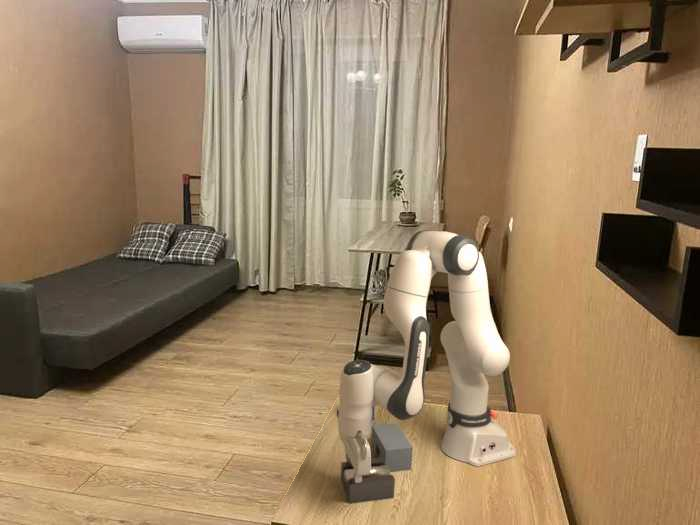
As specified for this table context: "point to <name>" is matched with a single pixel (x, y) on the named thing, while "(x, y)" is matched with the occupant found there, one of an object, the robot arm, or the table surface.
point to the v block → (368, 485)
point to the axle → (374, 472)
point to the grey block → (392, 446)
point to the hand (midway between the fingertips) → (353, 470)
